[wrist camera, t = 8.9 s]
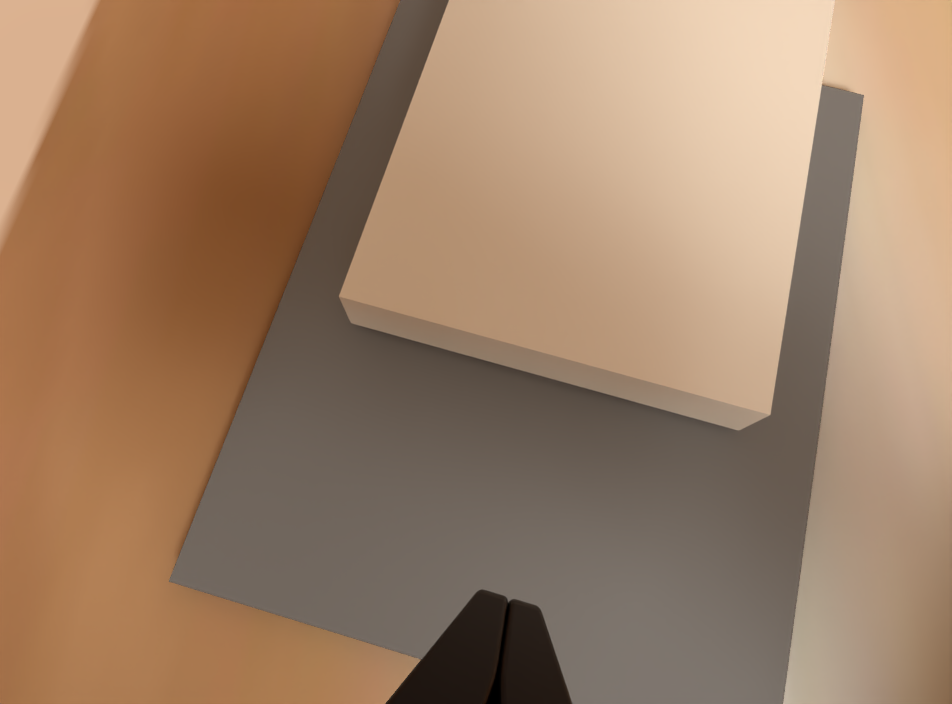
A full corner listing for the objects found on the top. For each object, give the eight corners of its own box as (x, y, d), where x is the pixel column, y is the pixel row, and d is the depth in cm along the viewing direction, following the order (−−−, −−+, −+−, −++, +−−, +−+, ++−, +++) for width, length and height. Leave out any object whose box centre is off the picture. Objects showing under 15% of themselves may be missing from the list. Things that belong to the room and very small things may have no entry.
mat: (764, 762, 15) (774, 767, 15) (177, 581, 16) (168, 581, 16) (854, 106, 21) (863, 95, 20) (408, -3, 21) (406, -16, 21)
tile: (770, 415, 15) (835, -2, 19) (338, 296, 16) (480, -85, 19) (735, 432, 17) (800, 50, 21) (352, 325, 18) (478, -27, 21)
